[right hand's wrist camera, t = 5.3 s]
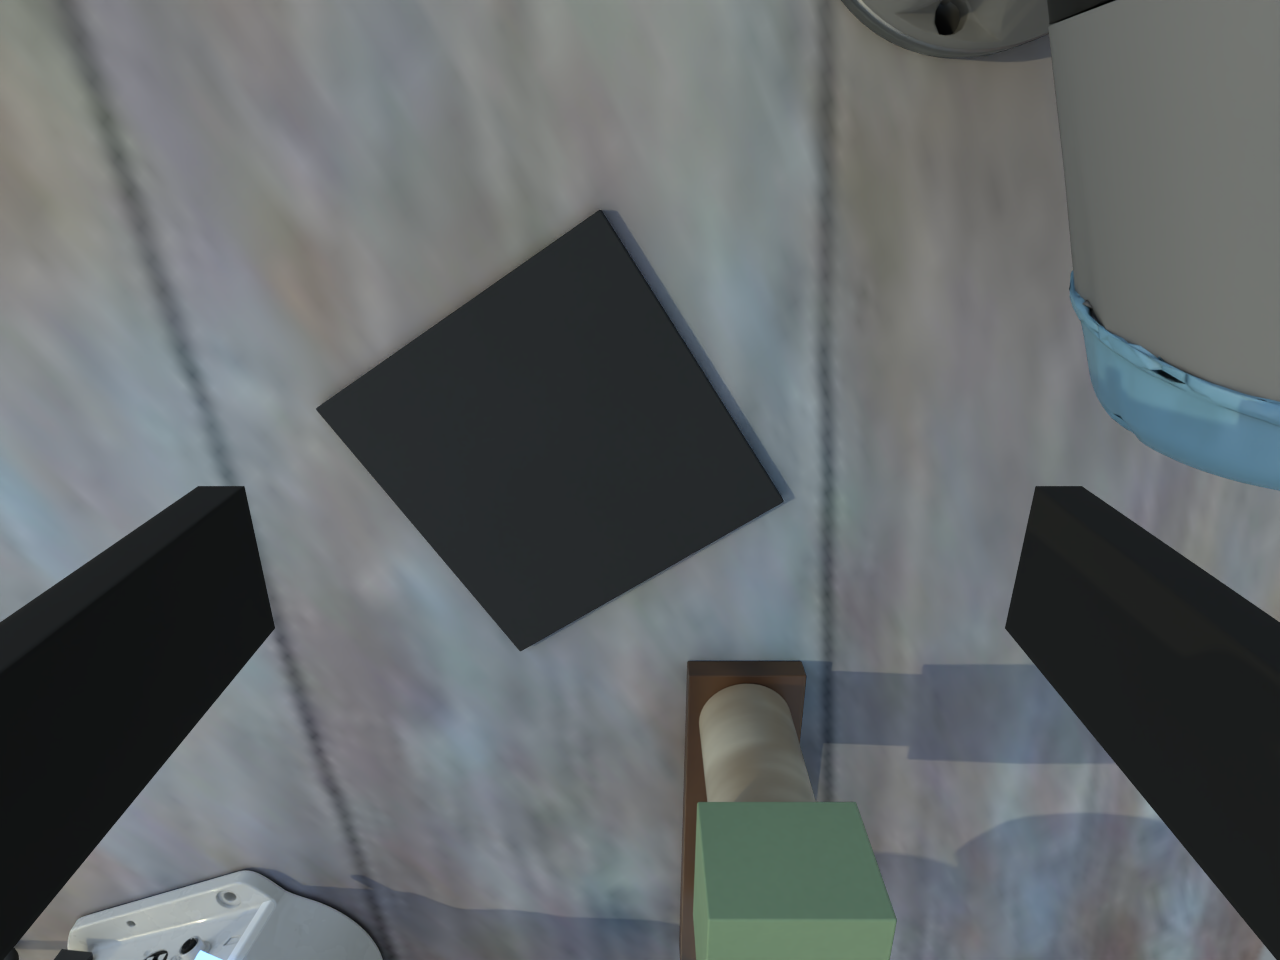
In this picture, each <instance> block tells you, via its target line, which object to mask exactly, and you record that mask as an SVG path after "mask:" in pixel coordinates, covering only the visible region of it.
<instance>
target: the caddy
mask: <svg viewBox="0 0 1280 960" xmlns="http://www.w3.org/2000/svg"><path fill="white" fill-rule="evenodd" d="M805 685H806V673H805V671H804V668H803V665H802V662H801V661H688V662H687V691H686V726H685V761H684V797H683V832H682V867H681V902H680V937H679V949H680V960H696V949H695V935H694V921H693V902H694V875H695V848H696V822H697V803H698V802H816V801H815V797H814V794H813V790H812V786H811V783H810V779H809V776H808V772H807V769H806V765H805V762H804V758H803V755H802V751H801V748H800V735H801V725H802V715H803V705H804V695H805Z"/></svg>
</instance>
